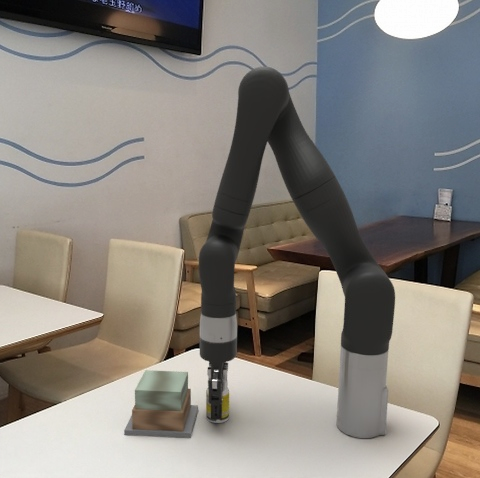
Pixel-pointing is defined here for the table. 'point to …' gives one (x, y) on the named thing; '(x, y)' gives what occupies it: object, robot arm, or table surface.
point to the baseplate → (182, 434)
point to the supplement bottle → (224, 406)
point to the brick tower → (161, 401)
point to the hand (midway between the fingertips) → (217, 411)
